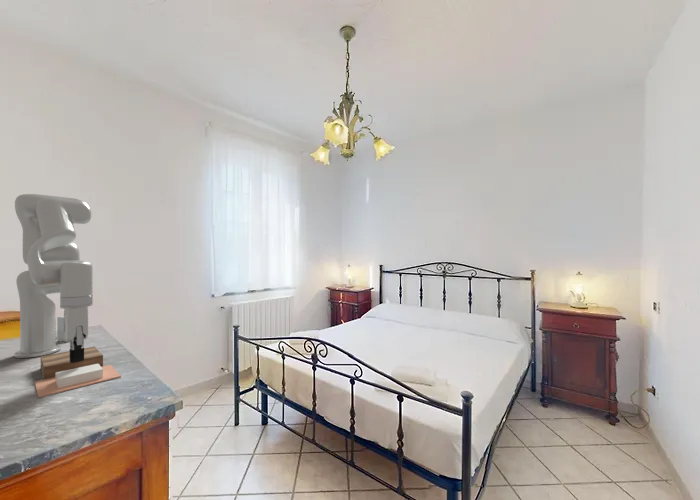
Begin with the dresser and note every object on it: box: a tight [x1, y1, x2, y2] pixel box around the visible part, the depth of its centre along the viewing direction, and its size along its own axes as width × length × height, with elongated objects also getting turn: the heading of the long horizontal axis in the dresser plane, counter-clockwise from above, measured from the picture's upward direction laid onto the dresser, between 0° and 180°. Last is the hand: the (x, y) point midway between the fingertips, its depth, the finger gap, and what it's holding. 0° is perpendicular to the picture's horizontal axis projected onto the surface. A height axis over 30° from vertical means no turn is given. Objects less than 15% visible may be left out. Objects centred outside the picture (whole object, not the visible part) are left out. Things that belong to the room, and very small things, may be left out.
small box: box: [56, 315, 68, 343], centre depth 137 cm, size 8×6×10 cm
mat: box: [34, 364, 122, 399], centre depth 94 cm, size 14×18×1 cm
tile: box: [55, 364, 103, 388], centre depth 94 cm, size 7×10×2 cm
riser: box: [40, 346, 104, 380], centre depth 104 cm, size 14×14×4 cm
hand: (76, 361), depth 96 cm, fingers closed
